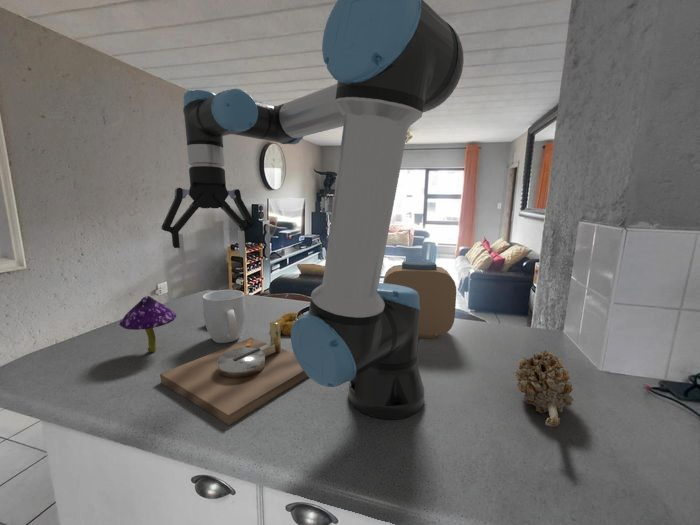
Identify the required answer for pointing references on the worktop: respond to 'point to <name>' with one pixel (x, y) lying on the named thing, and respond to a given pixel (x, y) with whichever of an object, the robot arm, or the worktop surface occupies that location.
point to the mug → (224, 314)
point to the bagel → (287, 323)
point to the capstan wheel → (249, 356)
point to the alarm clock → (428, 294)
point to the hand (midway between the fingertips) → (213, 259)
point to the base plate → (234, 382)
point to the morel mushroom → (545, 384)
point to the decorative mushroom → (148, 318)
